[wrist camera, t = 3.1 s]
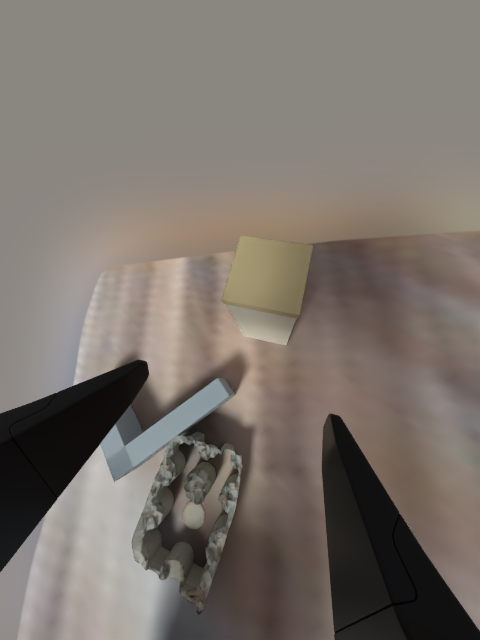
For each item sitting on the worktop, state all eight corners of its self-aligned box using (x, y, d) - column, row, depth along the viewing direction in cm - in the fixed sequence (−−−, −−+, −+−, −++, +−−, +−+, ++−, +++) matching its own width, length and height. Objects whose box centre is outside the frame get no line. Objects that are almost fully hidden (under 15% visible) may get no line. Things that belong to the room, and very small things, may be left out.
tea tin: (286, 346, 23) (299, 315, 13) (242, 336, 25) (221, 299, 14) (295, 304, 25) (313, 245, 14) (252, 296, 26) (240, 235, 16)
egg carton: (215, 578, 19) (200, 629, 15) (144, 535, 20) (114, 571, 16) (252, 450, 21) (248, 465, 17) (186, 422, 23) (169, 429, 19)
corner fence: (235, 394, 23) (229, 396, 19) (137, 467, 22) (114, 481, 19) (191, 327, 26) (180, 318, 22) (104, 388, 25) (79, 389, 22)
